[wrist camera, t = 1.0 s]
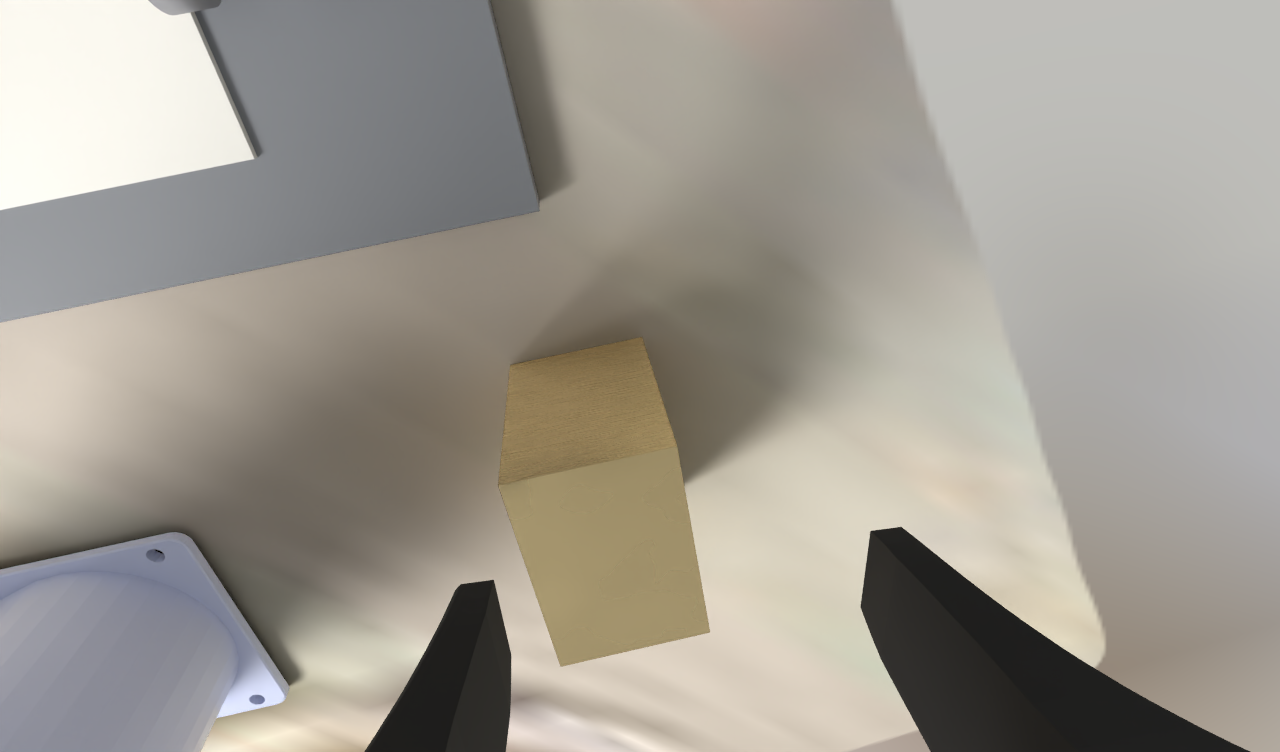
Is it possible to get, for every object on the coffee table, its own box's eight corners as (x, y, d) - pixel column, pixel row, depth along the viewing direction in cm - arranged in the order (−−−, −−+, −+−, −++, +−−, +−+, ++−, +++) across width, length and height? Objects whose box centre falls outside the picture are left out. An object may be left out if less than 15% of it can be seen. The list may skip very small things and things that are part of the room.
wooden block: (556, 518, 23) (560, 666, 17) (510, 364, 20) (498, 485, 14) (671, 492, 23) (710, 632, 17) (641, 336, 20) (677, 446, 15)
